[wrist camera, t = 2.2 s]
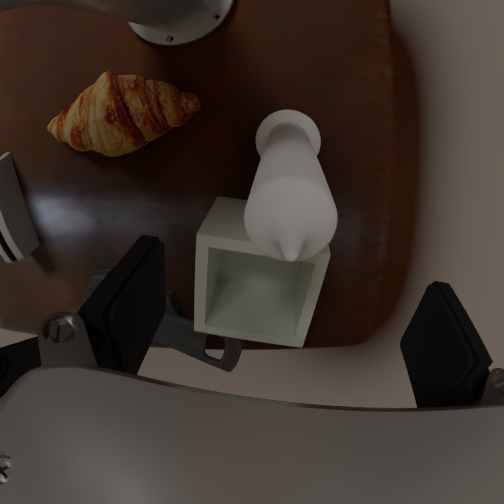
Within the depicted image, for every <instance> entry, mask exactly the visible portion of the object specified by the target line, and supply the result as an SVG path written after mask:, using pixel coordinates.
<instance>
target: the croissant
mask: <svg viewBox="0 0 504 504" xmlns="http://www.w3.org/2000/svg"><path fill="white" fill-rule="evenodd" d="M201 107H202V102H201V101H200V100H199V97H198V96H196V95H194V94H193V93H184V92H179V90H178V89H177V88H176V87H175V86H173V85H171V84H170V83H165V82H162V81H160V82H159V81H156V80H153V79H151V80H145V78H144V77H142V76H138V75H116V74H115V73H113V72H110V71H108V72H105V73H103V74H102V75H101V76H100V77H99V78H98V80H97V81H96V83H95V84H94V85H92V86H90V87H89V88H87V89H85V90H84V91H83V92H82V93H81V94H80V95H79V97H78V98H77V100H76V102H74V103H72V104H70V105H69V106H67V107H66V108H64V109H63V110H62V111H61V113H60V115H59V116H57V117H56V118H54V119H52V121H51V122H50V124H49V125H48V127H47V129H48V130H49V132H50V133H51V134H53V136H54V137H55V138H56V139H57V140H58V141H59V142H61V143H64V142H67V143H68V144H69V145H70V146H71V147H73V148H74V149H75V150H79V151H82V152H83V151H89V150H94V151H95V152H100V153H102V154H104V155H105V156H110V157H116V156H120V155H123V154H127V153H131V152H133V151H135V150H137V149H139V148H141V147H143V146H145V145H146V144H148V143H149V142H151V141H152V140H154V139H156V138H158V137H160V136H161V135H163V134H165V133H166V132H167V131H169V130H170V129H172V128H173V127H178V126H182V125H184V124H185V123H186V122H187V121H188V120H189V119H190V118H191V117H192V116H194V115H195V114H197V113H198V112H200V111H201Z"/></svg>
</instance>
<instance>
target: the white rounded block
mask: <svg viewBox="0 0 504 504" xmlns="http://www.w3.org/2000/svg"><path fill="white" fill-rule="evenodd" d="M39 245H40V243H39V240H38V238H37V235H36V232H35V230H34V227H33V224H32V222H31V219H30V216H29V213H28V210H27V207H26V204H25V201H24V198H23V195H22V192H21V189H20V185H19V182H18V179H17V175H16V172H15V168H14V164H13V161H12V157H11V153H10V152H8V153H4V154H3V155H2V156H1V157H0V254H1V256H2V257H3V258H4V260H5V261H6V262H7V263H14V262H16V261H17V260H19V261H21V260H23V259H24V258H26V257H27V256H28V255H29V254H30V253H31V252H33V251H34V250H35V249H36V248H37V247H38V246H39Z"/></svg>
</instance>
